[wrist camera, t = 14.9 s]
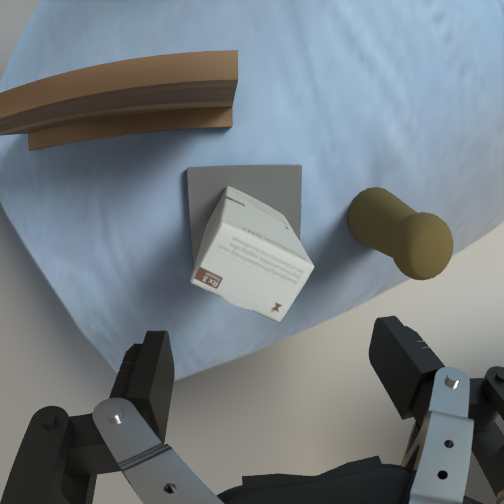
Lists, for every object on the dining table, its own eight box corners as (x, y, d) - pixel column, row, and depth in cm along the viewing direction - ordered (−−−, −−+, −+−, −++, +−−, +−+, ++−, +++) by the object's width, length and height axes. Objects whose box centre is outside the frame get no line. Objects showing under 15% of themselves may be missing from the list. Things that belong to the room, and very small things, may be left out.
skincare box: (285, 214, 29) (324, 264, 18) (262, 255, 30) (283, 327, 19) (224, 182, 28) (224, 214, 16) (201, 227, 29) (187, 286, 18)
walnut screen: (34, 102, 24) (-62, 97, 11) (231, 73, 25) (237, 18, 12) (35, 149, 26) (-62, 168, 13) (232, 126, 27) (238, 115, 14)
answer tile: (188, 167, 28) (187, 168, 27) (299, 164, 29) (301, 165, 28) (194, 271, 31) (194, 275, 30) (296, 266, 32) (298, 270, 31)
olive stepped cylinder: (344, 245, 32) (394, 295, 21) (349, 186, 30) (407, 212, 19) (395, 244, 32) (455, 288, 22) (401, 188, 30) (470, 214, 20)
